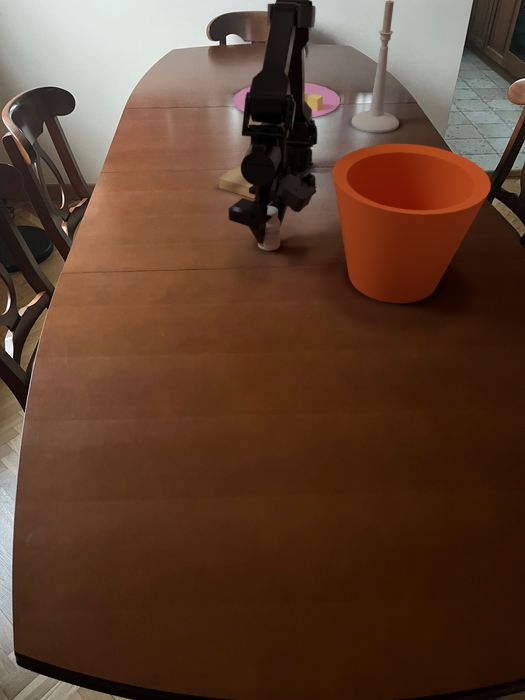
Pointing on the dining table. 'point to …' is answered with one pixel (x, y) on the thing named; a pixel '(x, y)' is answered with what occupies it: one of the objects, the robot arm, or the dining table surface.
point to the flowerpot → (404, 216)
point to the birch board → (235, 182)
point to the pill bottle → (271, 231)
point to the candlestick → (379, 87)
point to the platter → (315, 97)
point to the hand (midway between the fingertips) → (268, 236)
